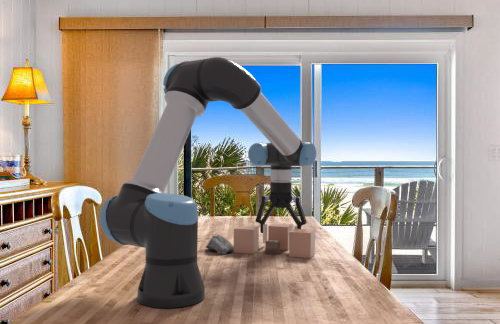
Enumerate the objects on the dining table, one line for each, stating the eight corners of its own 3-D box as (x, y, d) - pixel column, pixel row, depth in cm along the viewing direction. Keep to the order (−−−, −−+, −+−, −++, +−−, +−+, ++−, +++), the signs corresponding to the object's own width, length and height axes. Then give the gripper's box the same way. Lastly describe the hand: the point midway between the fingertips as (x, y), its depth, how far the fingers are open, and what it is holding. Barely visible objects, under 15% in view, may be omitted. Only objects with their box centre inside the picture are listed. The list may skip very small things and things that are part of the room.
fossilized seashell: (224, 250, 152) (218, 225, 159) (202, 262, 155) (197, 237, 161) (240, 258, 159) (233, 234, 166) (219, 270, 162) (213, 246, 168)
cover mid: (292, 246, 169) (292, 224, 169) (287, 250, 162) (287, 227, 162) (273, 245, 171) (273, 223, 171) (268, 248, 165) (268, 226, 164)
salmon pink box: (310, 258, 150) (310, 233, 150) (289, 256, 152) (289, 231, 152) (314, 253, 156) (314, 229, 156) (294, 252, 159) (294, 228, 158)
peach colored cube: (253, 253, 156) (253, 229, 156) (233, 252, 158) (233, 228, 158) (258, 249, 163) (258, 226, 163) (239, 248, 165) (239, 225, 165)
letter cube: (276, 255, 155) (277, 242, 155) (265, 254, 156) (265, 241, 156) (280, 252, 159) (280, 240, 158) (268, 251, 160) (269, 239, 160)
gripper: (315, 181, 166) (315, 243, 167) (253, 180, 174) (252, 239, 174) (311, 182, 159) (311, 247, 159) (246, 181, 167) (246, 243, 167)
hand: (280, 243), depth 167 cm, fingers open, 11 cm apart
